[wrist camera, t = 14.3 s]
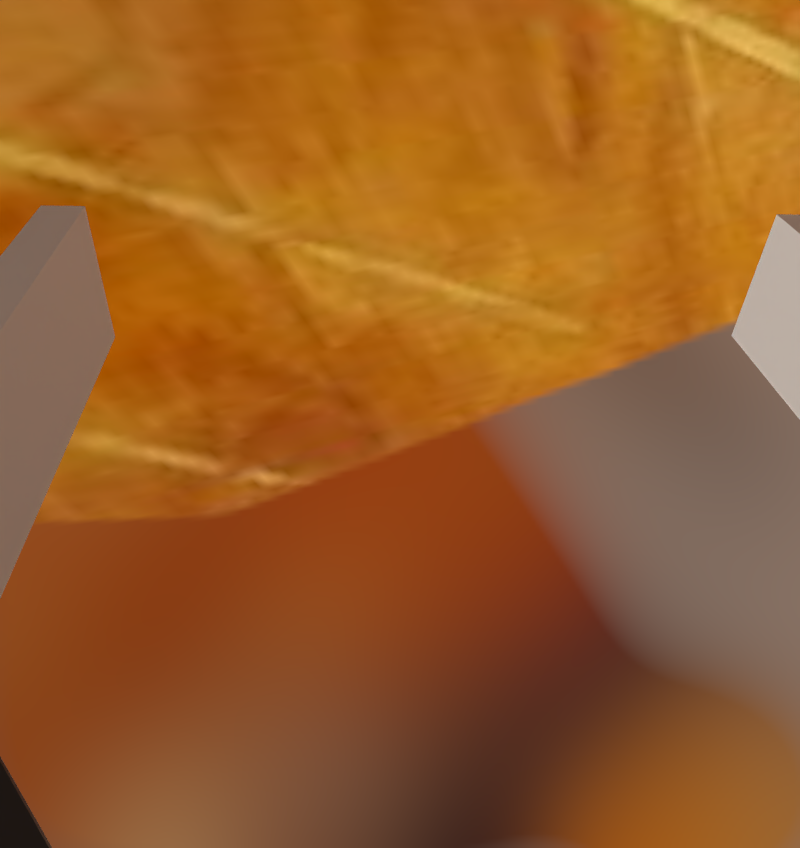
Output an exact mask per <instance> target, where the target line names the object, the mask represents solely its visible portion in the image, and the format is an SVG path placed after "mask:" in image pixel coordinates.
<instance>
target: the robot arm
mask: <svg viewBox="0 0 800 848" xmlns="http://www.w3.org/2000/svg"><path fill="white" fill-rule="evenodd" d="M732 337H733V338H734V339H735V340H736V342H737V343H738V344H739V345H740V347H741V348H742V349H743V350H744V352H745V353H746V354H747V355H748V356H749V358H750V359H751V360H752V361H753V363H754V364H755V365H756V366H757V367H758V369H759V370H760V371H761V373H762V374H763V375H764V376H765V377H766V378H767V380H768V381H769V382H770V384H771V385H772V386H773V387H774V388H775V390H776V391H777V392H778V393H779V395H780V396H781V397H782V398H783V400H784V401H785V402H786V403H787V405H788V406H789V407H790V408H791V410H792V411H793V412H794V413H795V414H796V416H797V417H798V418H799V419H800V215H776V218H775V220H774V223H773V226H772V229H771V231H770V234H769V237H768V239H767V242H766V245H765V247H764V250H763V253H762V255H761V258H760V261H759V263H758V266H757V269H756V271H755V274H754V277H753V279H752V282H751V285H750V288H749V290H748V293H747V296H746V298H745V301H744V304H743V306H742V309H741V312H740V314H739V317H738V320H737V322H736V325H735V328H734V330H733V333H732ZM114 338H115V335H114V330H113V326H112V322H111V317H110V313H109V309H108V304H107V300H106V296H105V291H104V287H103V283H102V278H101V274H100V270H99V265H98V261H97V257H96V252H95V248H94V244H93V239H92V235H91V231H90V226H89V222H88V218H87V214H86V209H85V206H40V208H39V209H38V210H37V211H36V213H35V214H34V215H33V216H32V218H31V219H30V220H29V221H28V223H27V224H26V225H25V226H24V227H23V229H22V230H21V231H20V232H19V234H18V235H17V236H16V237H15V239H14V240H13V241H12V242H11V244H10V245H9V246H8V247H7V249H6V250H5V251H4V252H3V254H2V255H1V256H0V598H1V595H2V593H3V591H4V589H5V586H6V584H7V582H8V579H9V577H10V575H11V572H12V570H13V568H14V566H15V564H16V561H17V559H18V557H19V554H20V552H21V550H22V547H23V545H24V543H25V541H26V539H27V536H28V534H29V532H30V529H31V527H32V525H33V523H34V520H35V518H36V516H37V514H38V511H39V509H40V507H41V504H42V502H43V500H44V498H45V495H46V493H47V491H48V488H49V486H50V484H51V482H52V479H53V477H54V475H55V473H56V470H57V468H58V466H59V463H60V461H61V459H62V457H63V454H64V452H65V450H66V447H67V445H68V443H69V441H70V438H71V436H72V434H73V432H74V429H75V427H76V425H77V422H78V420H79V418H80V416H81V413H82V411H83V409H84V407H85V404H86V402H87V400H88V397H89V395H90V393H91V391H92V388H93V386H94V384H95V381H96V379H97V377H98V375H99V372H100V370H101V368H102V366H103V363H104V361H105V359H106V356H107V354H108V352H109V350H110V347H111V345H112V343H113V341H114ZM0 848H52V847H51V845H50V843H49V842H48V840H47V838H46V837H45V835H44V833H43V831H42V830H41V828H40V826H39V824H38V822H37V821H36V819H35V817H34V815H33V814H32V812H31V810H30V808H29V807H28V805H27V803H26V801H25V799H24V798H23V796H22V794H21V792H20V791H19V789H18V787H17V785H16V784H15V782H14V780H13V778H12V777H11V775H10V773H9V771H8V769H7V768H6V766H5V764H4V762H3V761H2V759H1V757H0Z"/></svg>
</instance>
